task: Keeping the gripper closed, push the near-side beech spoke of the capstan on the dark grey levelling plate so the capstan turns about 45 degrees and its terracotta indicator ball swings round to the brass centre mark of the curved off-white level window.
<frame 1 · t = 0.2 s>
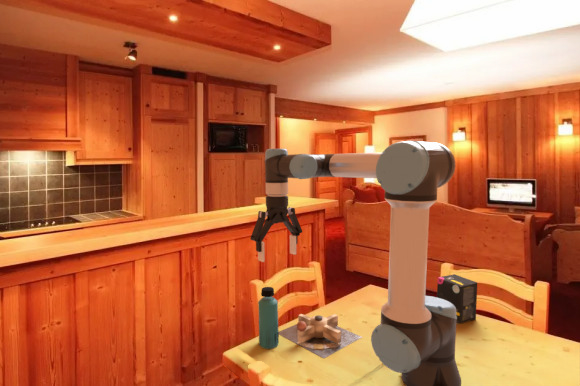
hand: (277, 257, 124), 27 cm above the table, fingers open, 13 cm apart
capstan: (318, 324, 123), point 5 cm above the table, hinge at 0.0°
beverage bottle: (268, 348, 118), on the table
stand: (318, 339, 124), on the table
tampon box: (455, 317, 140), on the table
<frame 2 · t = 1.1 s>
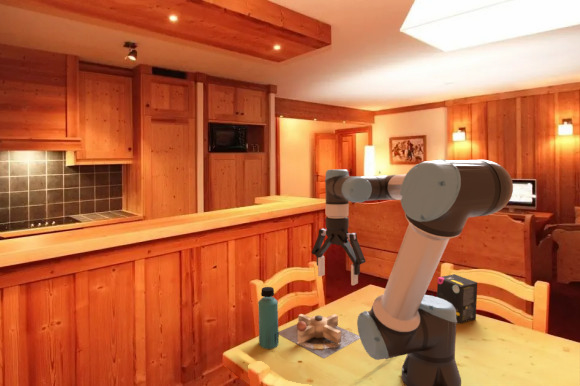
hand: (337, 279, 122), 21 cm above the table, fingers open, 13 cm apart
nothing on the table moved.
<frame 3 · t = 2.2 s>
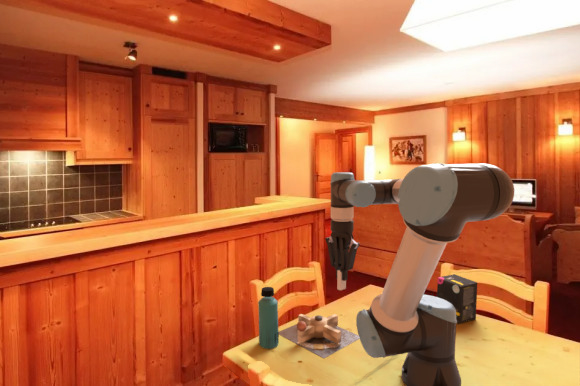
hand: (341, 288, 123), 17 cm above the table, fingers closed
nothing on the table moved.
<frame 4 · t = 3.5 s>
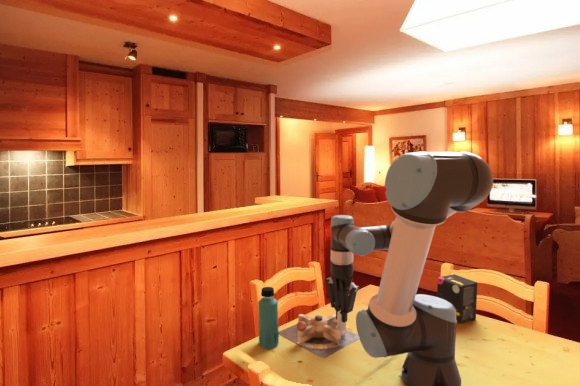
hand: (341, 329, 124), 3 cm above the table, fingers closed
nothing on the table moved.
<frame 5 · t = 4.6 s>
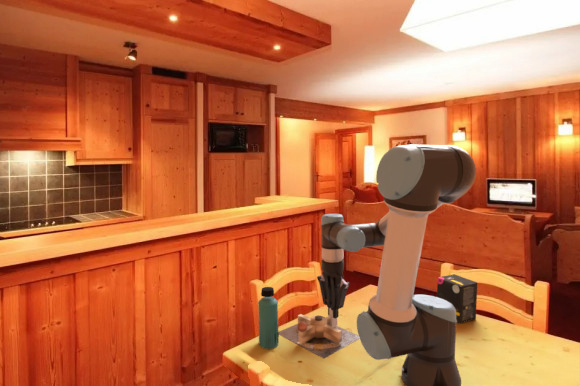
hand: (333, 325, 127), 3 cm above the table, fingers closed
capstan: (318, 324, 123), point 5 cm above the table, hinge at 2.6°, touching gripper
everything else where it was.
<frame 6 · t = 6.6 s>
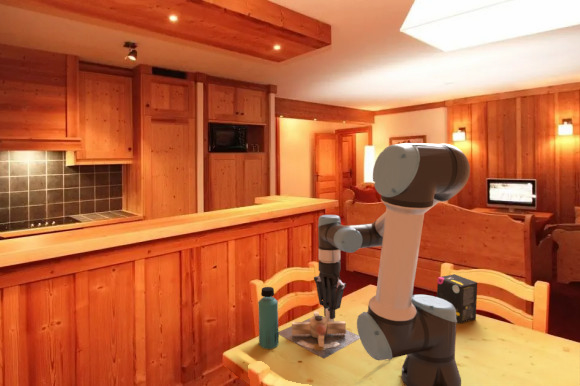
hand: (329, 326, 127), 3 cm above the table, fingers closed
capstan: (318, 324, 123), point 5 cm above the table, hinge at 48.9°
everything else where it was.
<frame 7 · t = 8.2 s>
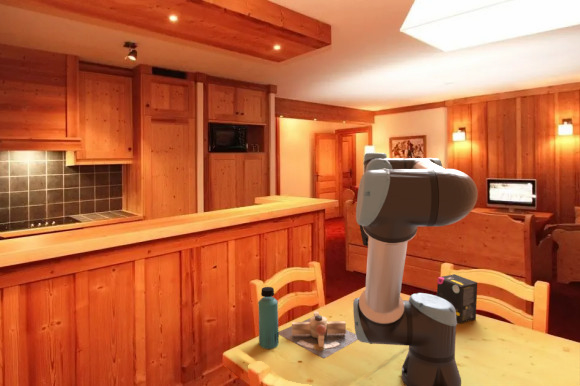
hand: (374, 267, 126), 24 cm above the table, fingers closed
nothing on the table moved.
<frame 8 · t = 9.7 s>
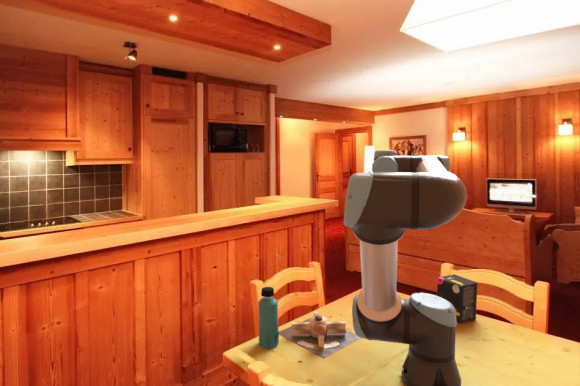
hand: (383, 264, 126), 24 cm above the table, fingers closed
nothing on the table moved.
at the end: capstan at +49° (first picture: +0°) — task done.
